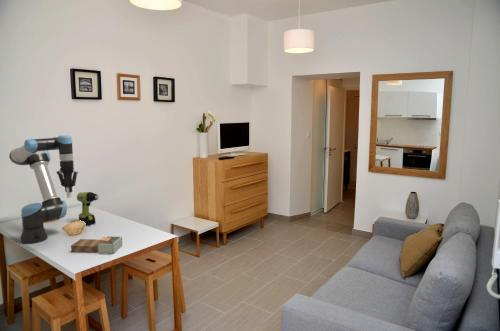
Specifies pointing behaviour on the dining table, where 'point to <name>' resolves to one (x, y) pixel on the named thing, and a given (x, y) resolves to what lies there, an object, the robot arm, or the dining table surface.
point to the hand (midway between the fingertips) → (69, 197)
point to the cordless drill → (86, 207)
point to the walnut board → (85, 246)
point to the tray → (110, 246)
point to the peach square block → (105, 240)
